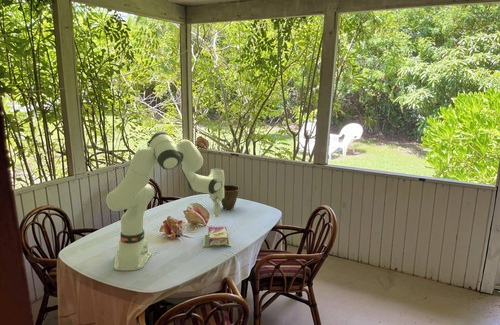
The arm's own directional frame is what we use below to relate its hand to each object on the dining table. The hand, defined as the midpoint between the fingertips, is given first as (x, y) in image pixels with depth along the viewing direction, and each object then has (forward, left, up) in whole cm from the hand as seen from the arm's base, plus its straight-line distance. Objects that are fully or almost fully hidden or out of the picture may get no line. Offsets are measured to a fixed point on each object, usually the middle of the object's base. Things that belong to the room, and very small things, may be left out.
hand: (216, 216), depth 212 cm
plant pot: (+48, -10, -13) cm, 51 cm away
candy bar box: (+3, 0, -10) cm, 11 cm away
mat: (-6, 0, -13) cm, 15 cm away
